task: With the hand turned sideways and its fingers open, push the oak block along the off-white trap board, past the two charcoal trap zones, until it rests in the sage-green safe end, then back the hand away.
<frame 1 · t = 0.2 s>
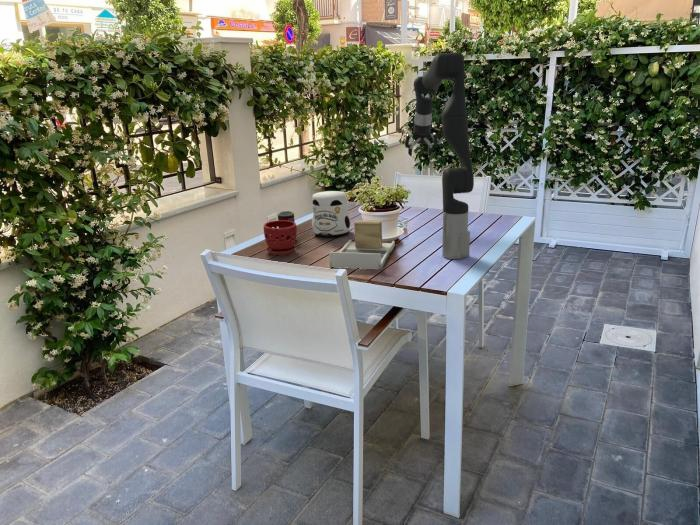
hand: (419, 154, 248), 31 cm above the table, tool tilted 20°, fingers open, 8 cm apart
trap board: (364, 256, 209), on the table
plant pot: (282, 252, 219), on the table
oak block: (368, 234, 215), point 6 cm above the table, slide at 0.0 cm
milk container: (331, 234, 241), on the table
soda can: (288, 240, 235), on the table
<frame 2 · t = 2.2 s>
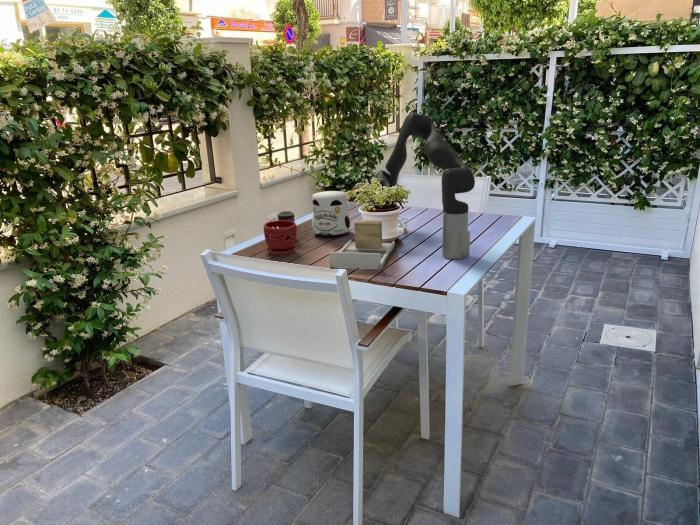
hand: (370, 196, 217), 20 cm above the table, tool horizontal, fingers open, 8 cm apart
nothing on the table moved.
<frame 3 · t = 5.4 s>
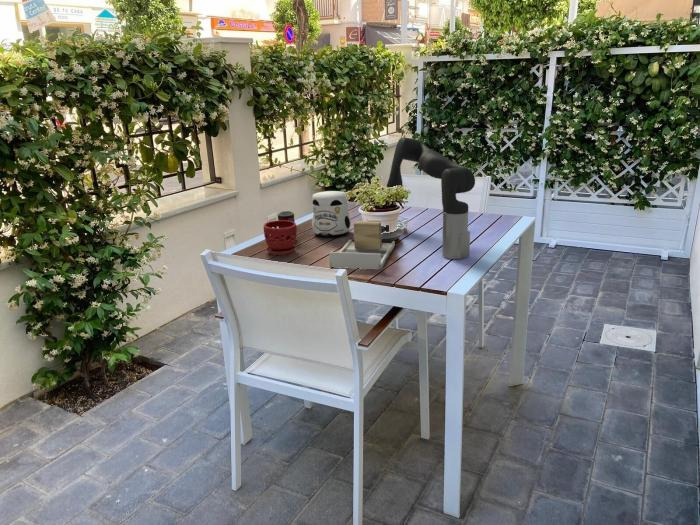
hand: (369, 231, 216), 7 cm above the table, tool horizontal, fingers open, 8 cm apart
oak block: (367, 235, 214), point 6 cm above the table, slide at 1.2 cm, touching gripper
everything else where it was.
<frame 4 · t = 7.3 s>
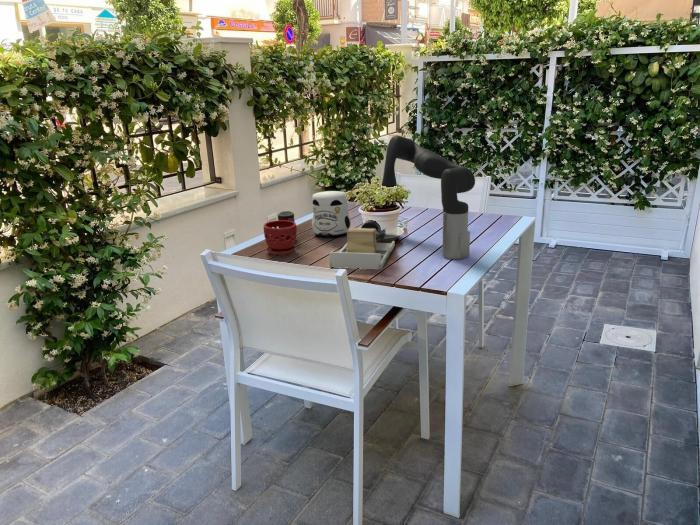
hand: (363, 239, 206), 7 cm above the table, tool horizontal, fingers open, 8 cm apart
oak block: (361, 242, 204), point 6 cm above the table, slide at 12.1 cm, touching gripper
everything else where it was.
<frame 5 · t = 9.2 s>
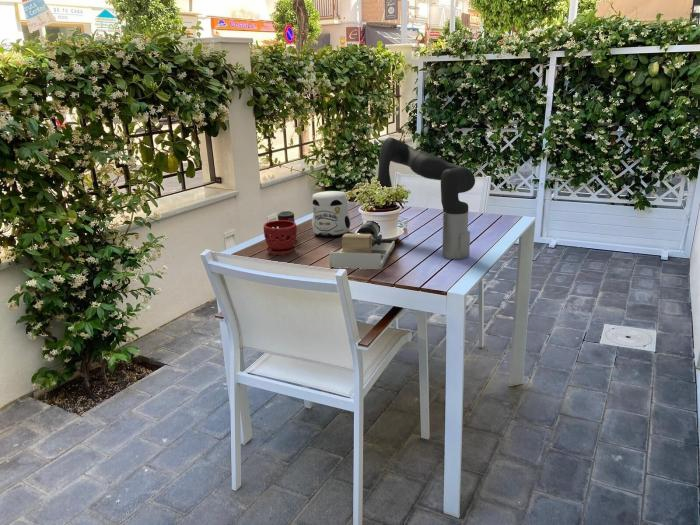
hand: (358, 245, 199), 7 cm above the table, tool horizontal, fingers open, 8 cm apart
oak block: (357, 248, 197), point 6 cm above the table, slide at 19.6 cm, touching gripper
everything else where it was.
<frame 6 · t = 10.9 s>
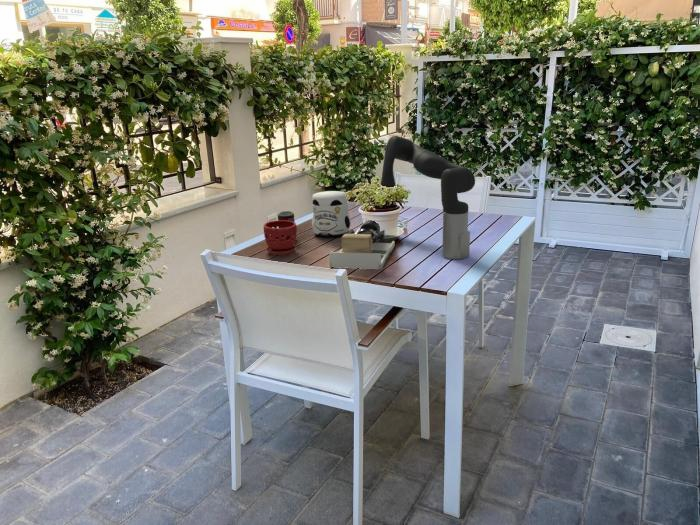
hand: (362, 240, 205), 7 cm above the table, tool horizontal, fingers open, 8 cm apart
oak block: (357, 249, 197), point 6 cm above the table, slide at 19.9 cm
everything else where it was.
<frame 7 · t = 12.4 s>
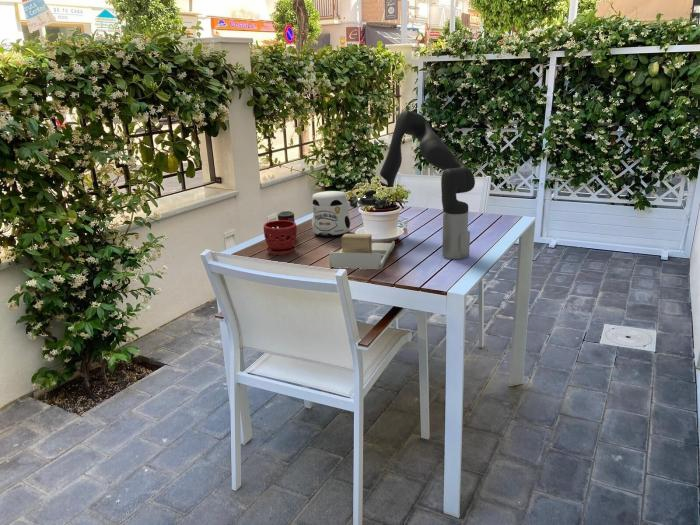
hand: (364, 205, 206), 19 cm above the table, tool horizontal, fingers open, 8 cm apart
nothing on the table moved.
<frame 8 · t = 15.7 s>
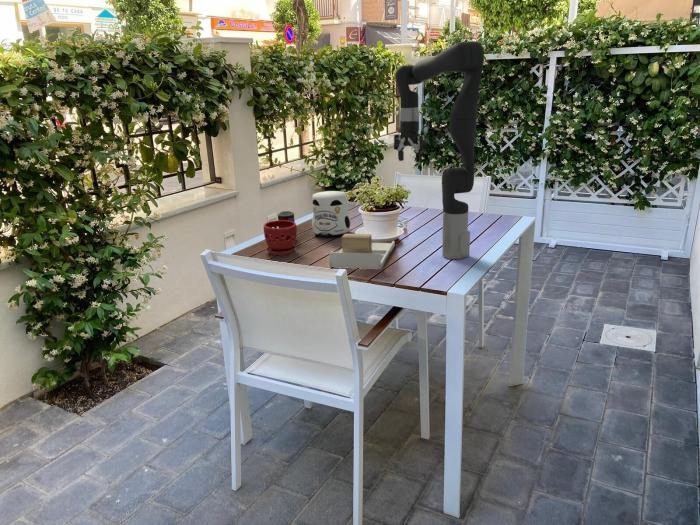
hand: (409, 161, 215), 33 cm above the table, tool pointing down, fingers open, 8 cm apart
nothing on the table moved.
at the end: oak block slide at 19.9 cm; the gripper is holding nothing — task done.
